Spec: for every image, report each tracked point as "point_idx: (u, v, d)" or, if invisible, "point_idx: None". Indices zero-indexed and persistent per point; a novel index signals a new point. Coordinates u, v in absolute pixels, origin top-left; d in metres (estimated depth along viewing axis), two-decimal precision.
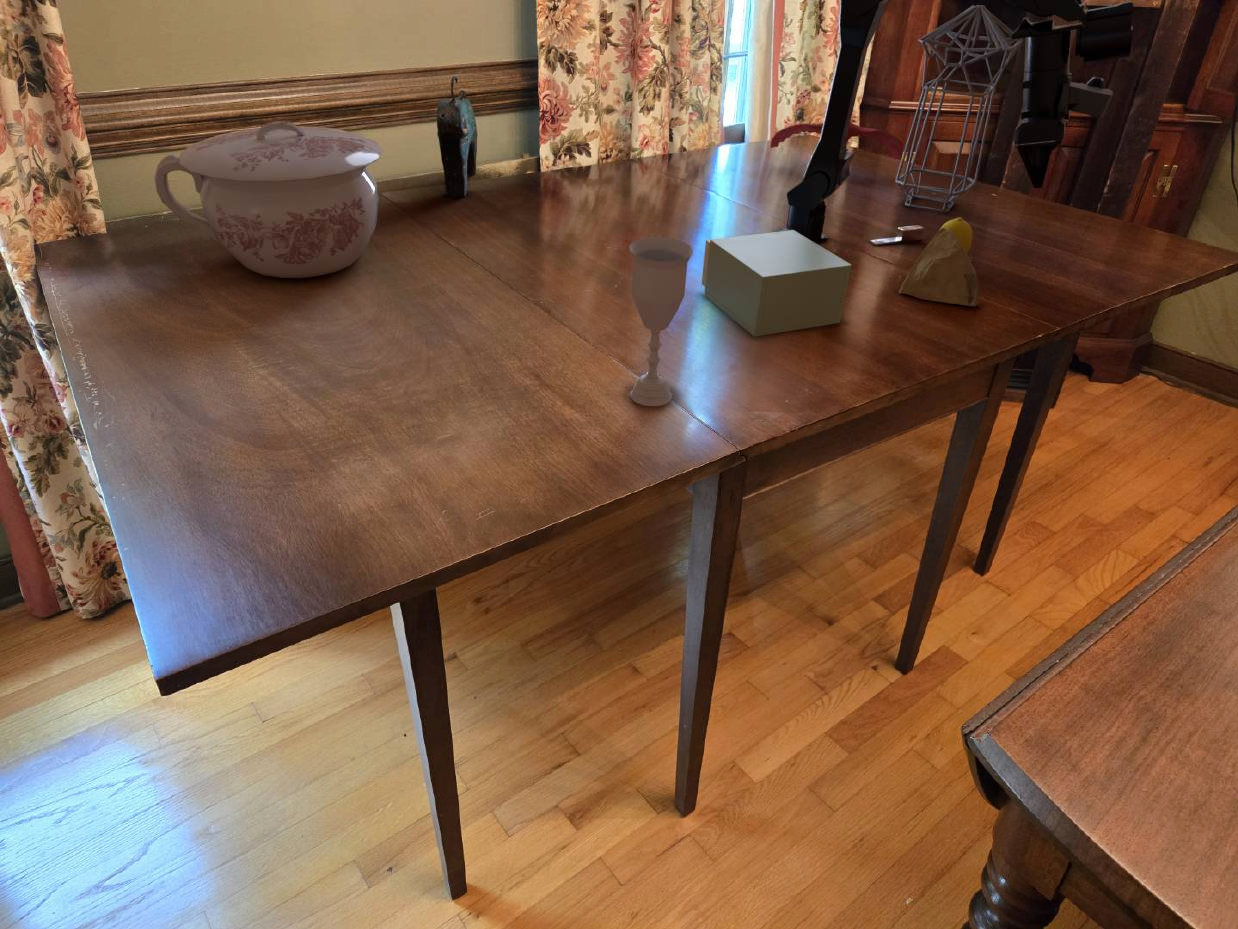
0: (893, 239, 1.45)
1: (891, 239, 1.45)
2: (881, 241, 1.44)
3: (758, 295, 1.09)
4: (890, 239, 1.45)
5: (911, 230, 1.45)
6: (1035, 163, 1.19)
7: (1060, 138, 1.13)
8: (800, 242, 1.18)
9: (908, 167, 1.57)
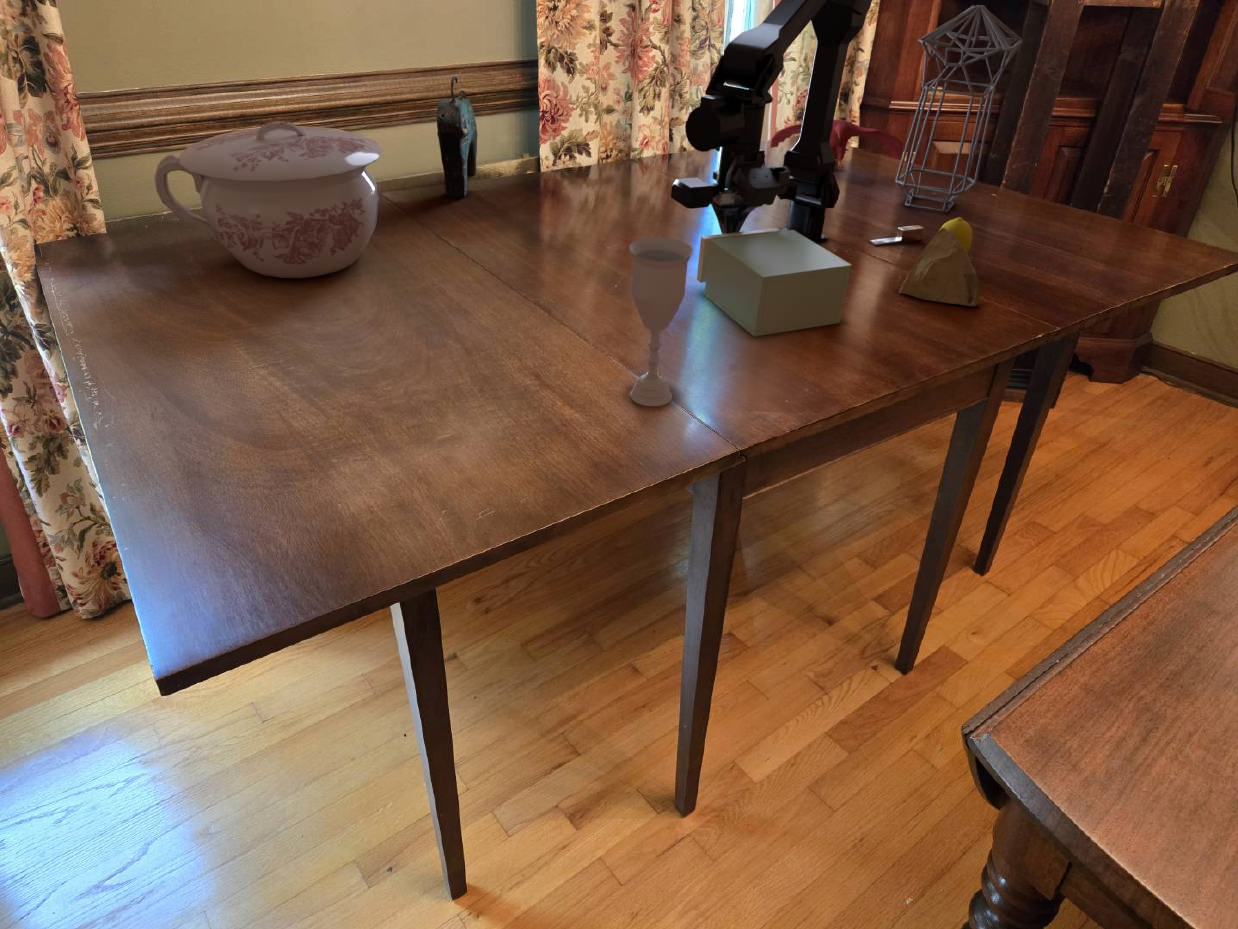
0: (893, 239, 1.45)
1: (891, 239, 1.45)
2: (881, 241, 1.44)
3: (758, 295, 1.09)
4: (890, 239, 1.45)
5: (911, 230, 1.45)
6: (722, 220, 1.25)
7: (688, 206, 1.18)
8: (800, 242, 1.18)
9: (908, 167, 1.57)
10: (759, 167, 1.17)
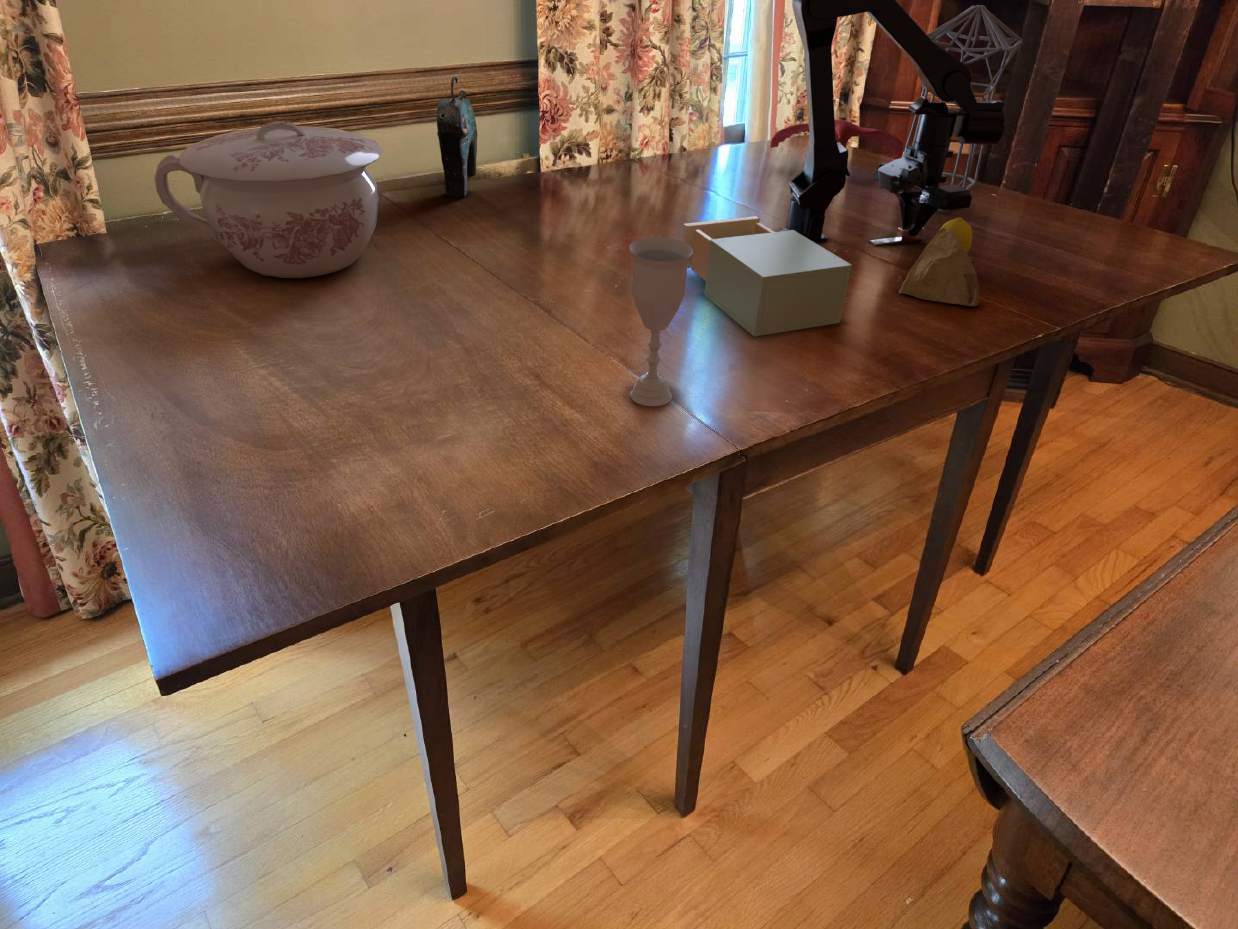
0: (893, 239, 1.45)
1: (891, 239, 1.45)
2: (881, 241, 1.44)
3: (758, 295, 1.09)
4: (890, 239, 1.45)
5: None
6: None
7: (874, 177, 1.48)
8: (800, 242, 1.18)
9: None
10: (910, 163, 1.37)
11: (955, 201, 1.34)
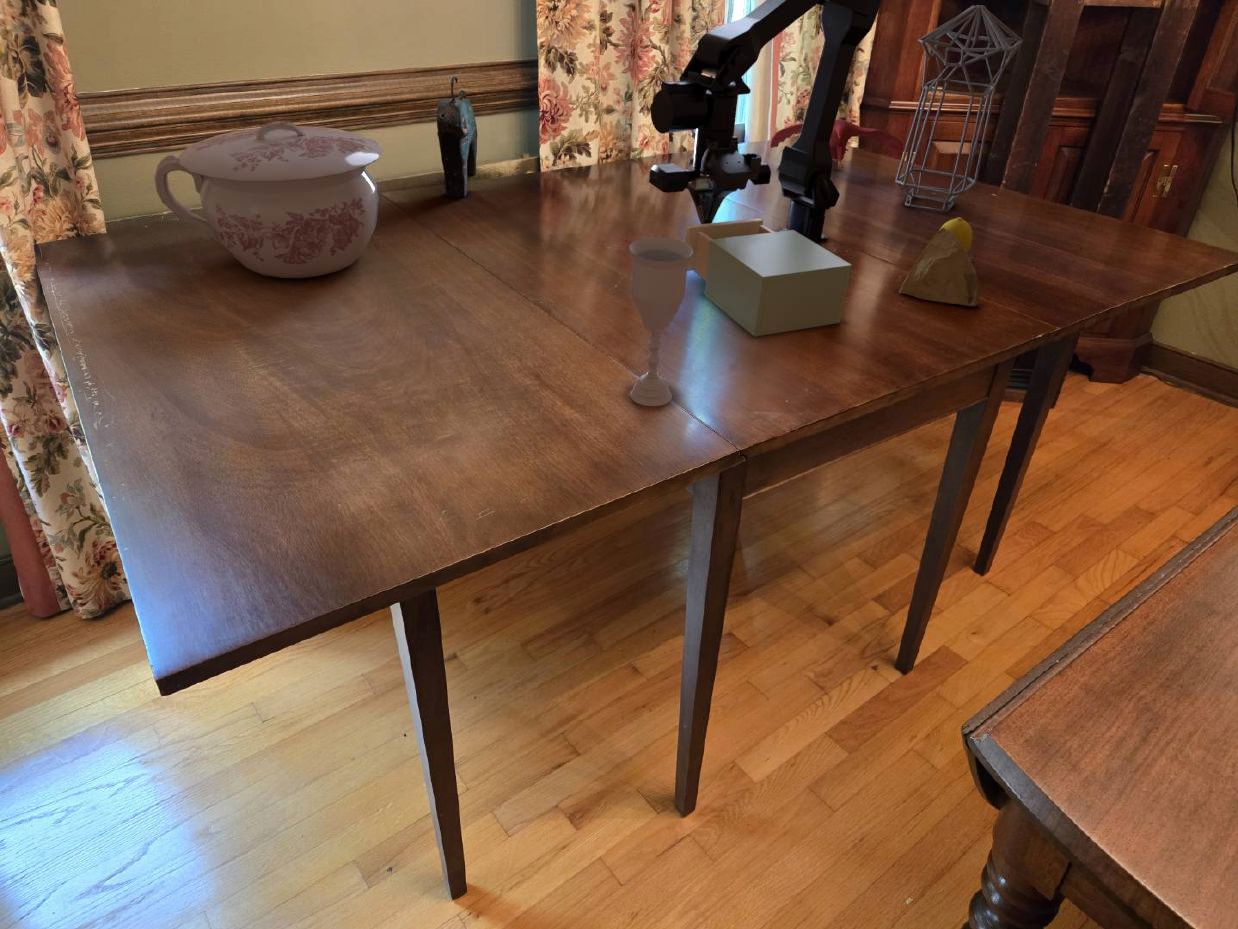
0: None
1: None
2: None
3: (758, 295, 1.09)
4: None
5: None
6: (698, 205, 1.31)
7: (664, 190, 1.24)
8: (800, 242, 1.18)
9: (908, 167, 1.57)
10: (732, 153, 1.23)
11: None
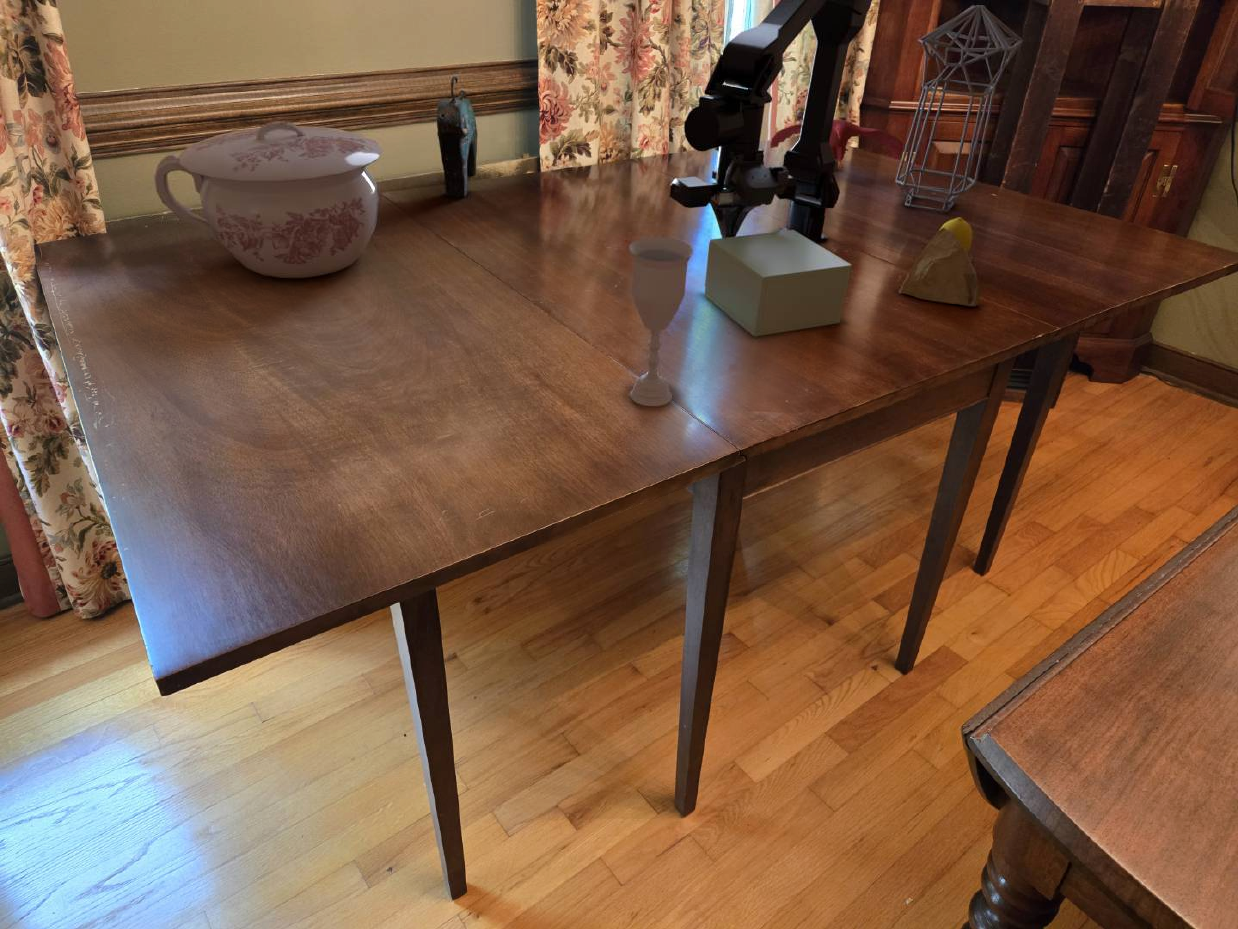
0: None
1: None
2: None
3: (758, 295, 1.09)
4: None
5: None
6: (720, 219, 1.25)
7: (686, 206, 1.18)
8: (800, 242, 1.18)
9: (908, 167, 1.57)
10: (758, 167, 1.17)
11: None
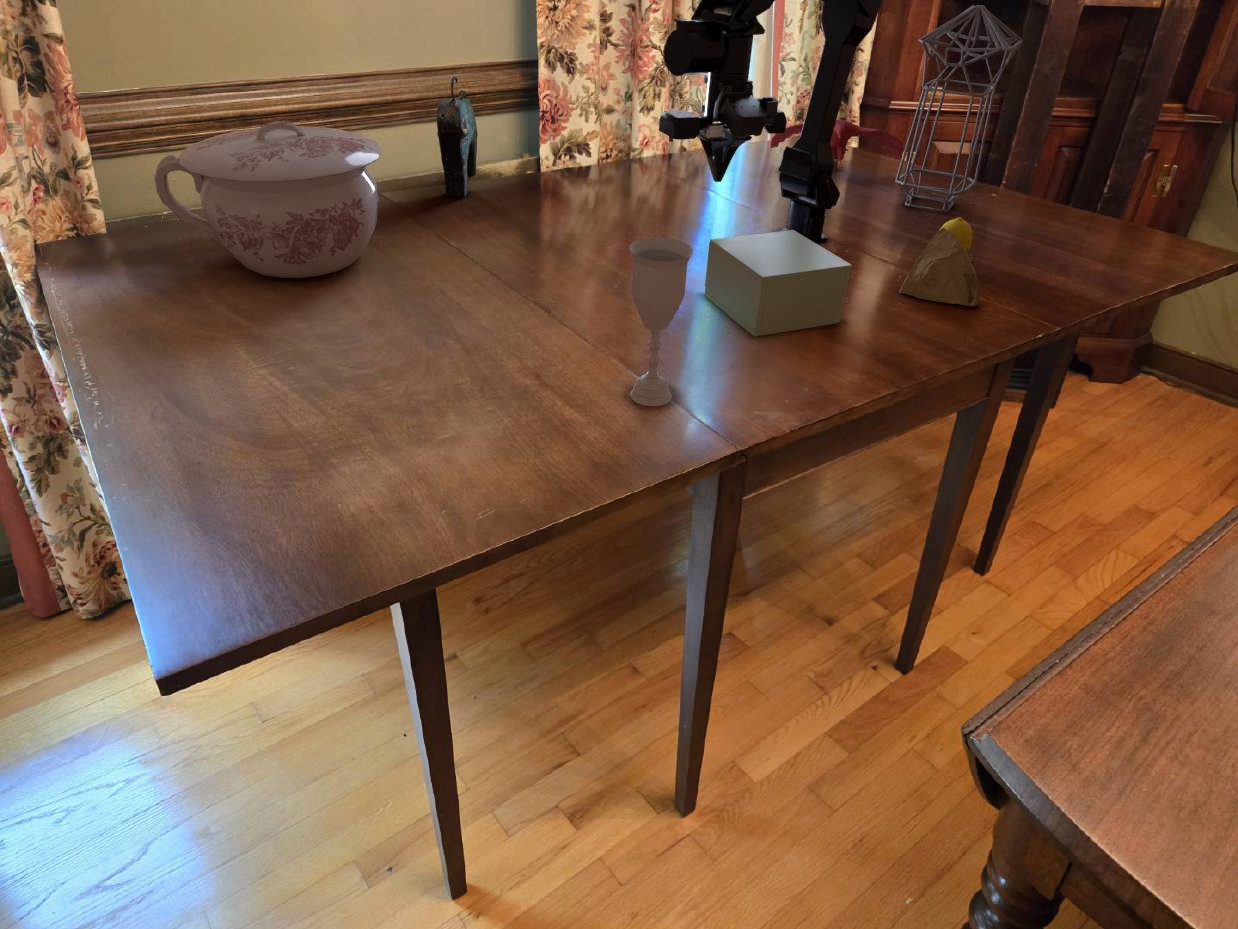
0: None
1: None
2: None
3: (758, 295, 1.09)
4: None
5: None
6: (710, 155, 1.24)
7: (675, 137, 1.17)
8: (800, 242, 1.18)
9: (908, 167, 1.57)
10: (747, 98, 1.16)
11: None
